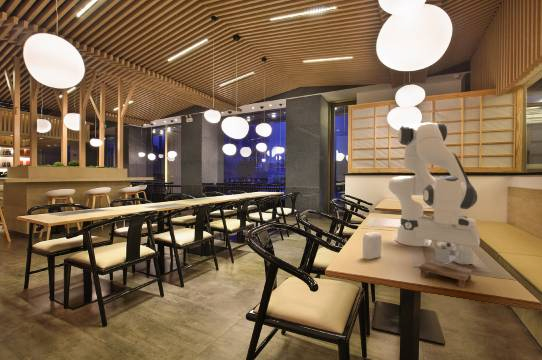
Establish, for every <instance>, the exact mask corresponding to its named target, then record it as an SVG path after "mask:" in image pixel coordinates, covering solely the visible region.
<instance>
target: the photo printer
mask: <svg viewBox="0 0 542 360" xmlns="http://www.w3.org/2000/svg"><path fill="white" fill-rule="evenodd" d="M380 257H382V234H381V233H380V232H377V231H369V232H366V233H365V234H363V237H362V258H363V259H364V260H373V259H376V258H380Z"/></svg>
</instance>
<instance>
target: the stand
mask: <svg viewBox="0 0 542 360" xmlns="http://www.w3.org/2000/svg"><path fill="white" fill-rule="evenodd" d="M418 270H419V271H420V272H419V275H420V277H421V278H426V277H427V272H428V273H432V274H437V275H440V276H445V277H449V278H452V279H456V280H458V288H461V289H465V287H466V281H469V282H471V280H472V274H473V273H474V272H473V271H474V270H473V269H472V268H468V267H464V266H463V267H462V266H460V265H459V266H458V265H454V264H451V265H450V263H449V264H446V263H444V262H439V261H435V260H432V259H428V260H426V261H425V262H423V263H421V264H420V265H419V266H418Z"/></svg>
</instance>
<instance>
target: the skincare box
mask: <svg viewBox="0 0 542 360" xmlns="http://www.w3.org/2000/svg"><path fill="white" fill-rule="evenodd" d="M454 245H456V244H454ZM457 248H458V247H456V249H457ZM473 249H474V247H469V246H463V245H462V247H461V248H460V250H459V251H458V256H456V258H455V259H454V260H453V261H452V262H455V263H457V264H459V265H469V264H472V265H473V264H474V256H473V254H474V250H473Z"/></svg>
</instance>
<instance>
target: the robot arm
mask: <svg viewBox="0 0 542 360" xmlns="http://www.w3.org/2000/svg"><path fill="white" fill-rule="evenodd" d="M447 136H448V128H447V126H446V124H445V123H443V122H442V123H441V122H421V123H414V124H404V125H402V126H401V127H399V130H398V132H397V139H398V142H399V144H401V145H403V146H405V148H404V157H403V158H404V160H403V165H404V168H405V169H406V170H408V171H409V172H411V173H413V174H415V175H398V176H394V177H391V179H389V181H388V189H389V191H390V193H392V194H393V195H395V197H396V198H397V199H398V200H399V202H400V207H401V209H400V210H401V217H400V225H399V226H398V227H397V235H396V238H395V237H394V241H396V242H397V243H399V244H401V245H405V246H410V247H427V248H428V247H431V244H432V246H433V248H434V253H436V247H438V246H439V245H437V243H439V242H445V243H451V244H456V247H458V248H457V249H456V250H453V251H452V253H453V254H452V255H453V256H458V251H459V250H460V248H461V247H462V245H463V246H469V247H473V248H478V247H479V246H480V243H481V240H480V239H481V238H480V232H479V231H480V230H479V228H478V227H477V225H476V224H477V220H476V219H475V218H472V217H469V216H468V215H467V216H466V215H463V214H462V210H469V209H471V208H472V207H473V206H475V204H476V203H477V201H478V193H477V190H476V189H475V188H474V186H473V185H472V184H471V182H470V180H469V178H468V176H467V173H466V172H465V171H466V170H464V168H463V166H462V163H461V161H460V159H459V157H458V156H457V154H456V153H454V152H453V151H451V150H450V149H449V148H448V147H447V146H446V144H445V141H446V139H447ZM428 164H429V165H433V166H438V167H440V168H443V169H445V170H447V171H448V173H449V175H440V176H437V177H436V178H435V177H434V176H433V175H432V174H431V173H430V171H429V169H428ZM412 196H423V197H422V198H423V200H422V201H423V202H424V203H425V204H427V205H428V206H430V207H434V208H433V216H429V215H428V216H427V215H424V206H423V205H422V204H421V202H418V201H416V200H415V199H413V197H412Z"/></svg>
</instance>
